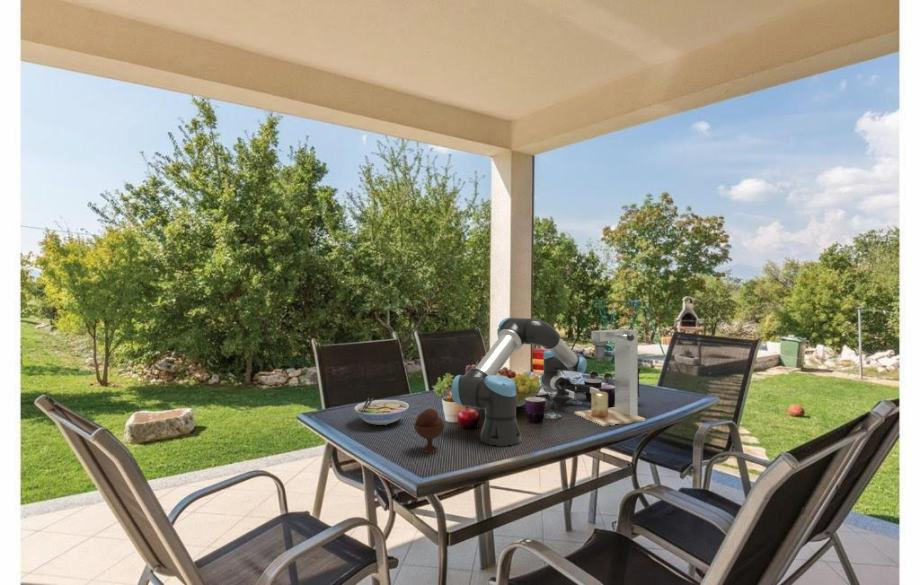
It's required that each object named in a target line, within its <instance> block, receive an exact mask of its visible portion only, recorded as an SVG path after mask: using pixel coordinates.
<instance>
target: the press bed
mask: <svg viewBox="0 0 920 585" xmlns="http://www.w3.org/2000/svg"><path fill="white" fill-rule="evenodd" d="M574 415H576V416H578V417H580V416H581V418H582V417H583V419H585V420H587V421H589V420H590V422H591V421H592V423H594V424H596V423H597V424H596V425H598V424H599V425H598V426H600V425H601V426H600V427H602V426H603V427H610V426H609V425H611V426H616V425H615V424H619V425H625V424H633V422H634V423H640V422H641V421H642V422H646V420H647V419H646V418H645V417H642V416H640V415H638V416H627V415H625V414H622V413H620V412H617V411H615V406H613V407H608V417H607V418H595V417H592V416H591V409H587V410H578V411H574ZM642 422H641V423H642Z"/></svg>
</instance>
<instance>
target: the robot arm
mask: <svg viewBox="0 0 920 585" xmlns="http://www.w3.org/2000/svg"><path fill="white" fill-rule="evenodd" d="M496 332H497V333H496V334H497V340H496V341H495V342H494V344H493V345H492V346H491V347H490V349H489V350H488V351H487V352H486V354H485V355H484V356H483V358H482V359H481V360H480V361H479V363H478V364H477V365H476V366H475V367H472V368H471V367H470V368H469V370H467V372H466V373H465V374H464V375H463V374H457V375H456V376H455V377H454V379H453V380H452V382H451V386H450V387H451V389H450V391H451V397H452V400H453V402H454V403H455V404H457V405H459V406H463V407H468V408H475V409H479V410H484V421H483V425H482V427H481V431H480V441H481V443H483V442H484V444H485V443H486V444H485V445H488V444H489V446H493V445H497V446H496V447H509V446H508V445H511V446H515V445H518V444H519V443H520V442H521V441H522V434H521V431H520V428H519V425H518V421H517V387H516V382H515V381H514V380H513V379H512V378H509V377H507V376H503V375H498V373H499V372H500V370H501V369H502V368H503V366H504V365H505V363H507V361H508V359H509V358H510V357H511V355H512V354H513V352H517V351H519V350H520V349H521V347H522V346H523V345H532V346H534V345H535V346H540V347H542V348H544V349H545V351H544V352H543V373H542V374H541V375H540V378H539V381H540V380H541V382H540V385H542V386H544V387H545V388H547V389H551V390H553V391H555V392H556V394H557V396H561V397H564V398H565V397H569V398H571V399H575V392H576V393H578V392H581V391H582V392H583V393H586V392H590V393H591V392H594V391H600V390H599V389H596V388H595V386H593V385H591V386H590V385H583V384H584V383H573V382H572V381H571V380H570V379H568V378H566V377H563V376H561V375H559V371H565V372H573V373H585V372H586V371H587V366H588V365H587V364H588V363H587V362H588V361H587V358H585V357H582V356H578V355H577V354H575V352H573V350H572V349H571V348H570V347H569V345H568V344H566V343H565V342H564V340H563V339H561V335H560V333H559V332H558V331H557V330H556V329H555V327H553V326H552V325H550V324H549V323H547V322H546V321H543V320H542V319H541V320H540V319H538V318H525V317H506V318H503V319H501V321H500V322H499V324H498V328H497V331H496ZM517 443H518V444H517ZM514 444H515V445H514Z"/></svg>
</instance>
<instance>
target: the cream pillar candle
mask: <svg viewBox="0 0 920 585" xmlns="http://www.w3.org/2000/svg"><path fill="white" fill-rule="evenodd" d="M590 403H591V405H590V406H591V407H590V410H591V416H592V417H595V418H607V417H608V408H609V393H608V392H606V391H602V390H601V391H594V392H591V402H590Z"/></svg>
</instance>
